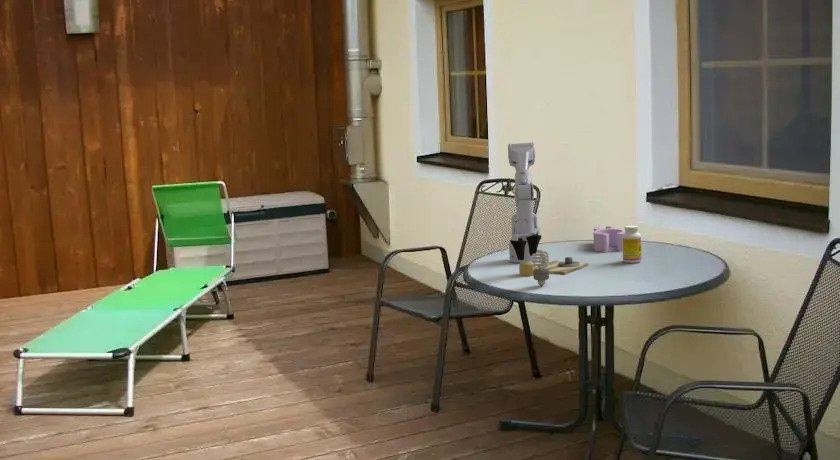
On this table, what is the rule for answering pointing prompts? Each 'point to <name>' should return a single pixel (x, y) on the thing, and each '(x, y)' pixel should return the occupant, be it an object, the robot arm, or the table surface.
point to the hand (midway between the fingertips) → (526, 257)
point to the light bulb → (541, 273)
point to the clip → (607, 238)
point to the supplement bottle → (631, 245)
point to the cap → (526, 268)
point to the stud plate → (564, 266)
